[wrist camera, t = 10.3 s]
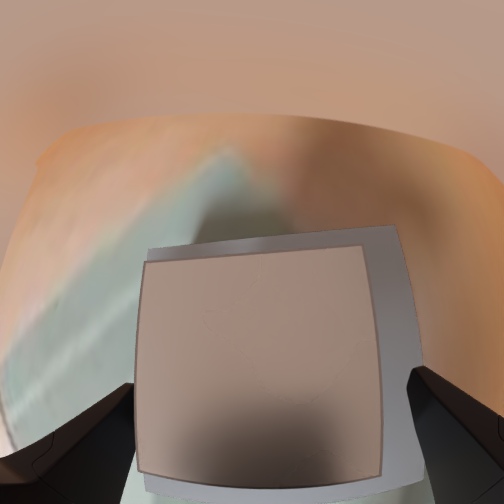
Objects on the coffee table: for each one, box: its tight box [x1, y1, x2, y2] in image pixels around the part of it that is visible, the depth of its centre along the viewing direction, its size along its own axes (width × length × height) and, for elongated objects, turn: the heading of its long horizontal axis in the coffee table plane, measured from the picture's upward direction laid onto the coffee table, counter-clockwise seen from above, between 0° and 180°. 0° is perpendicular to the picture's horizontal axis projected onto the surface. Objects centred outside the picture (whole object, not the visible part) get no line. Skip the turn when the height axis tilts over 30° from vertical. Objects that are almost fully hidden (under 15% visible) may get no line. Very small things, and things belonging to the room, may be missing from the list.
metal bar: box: [134, 243, 384, 489], centre depth 10 cm, size 4×4×13 cm
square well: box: [144, 225, 425, 504], centre depth 14 cm, size 14×14×5 cm
